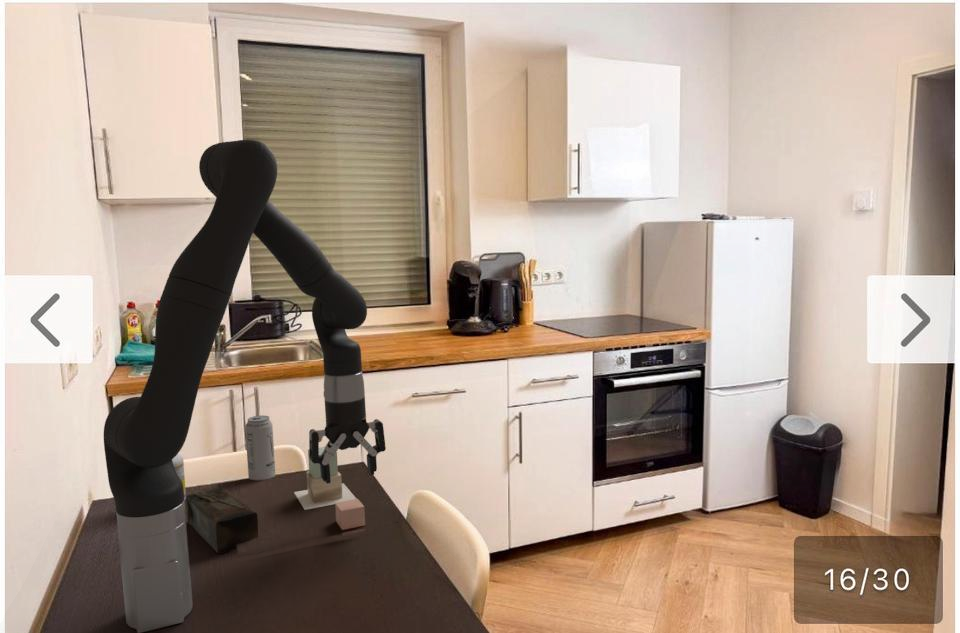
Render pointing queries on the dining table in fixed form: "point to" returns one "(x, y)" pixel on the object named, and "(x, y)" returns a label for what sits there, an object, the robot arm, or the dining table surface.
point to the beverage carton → (221, 518)
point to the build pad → (309, 504)
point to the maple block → (324, 488)
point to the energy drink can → (260, 448)
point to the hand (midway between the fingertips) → (349, 478)
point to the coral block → (350, 515)
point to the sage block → (315, 468)
